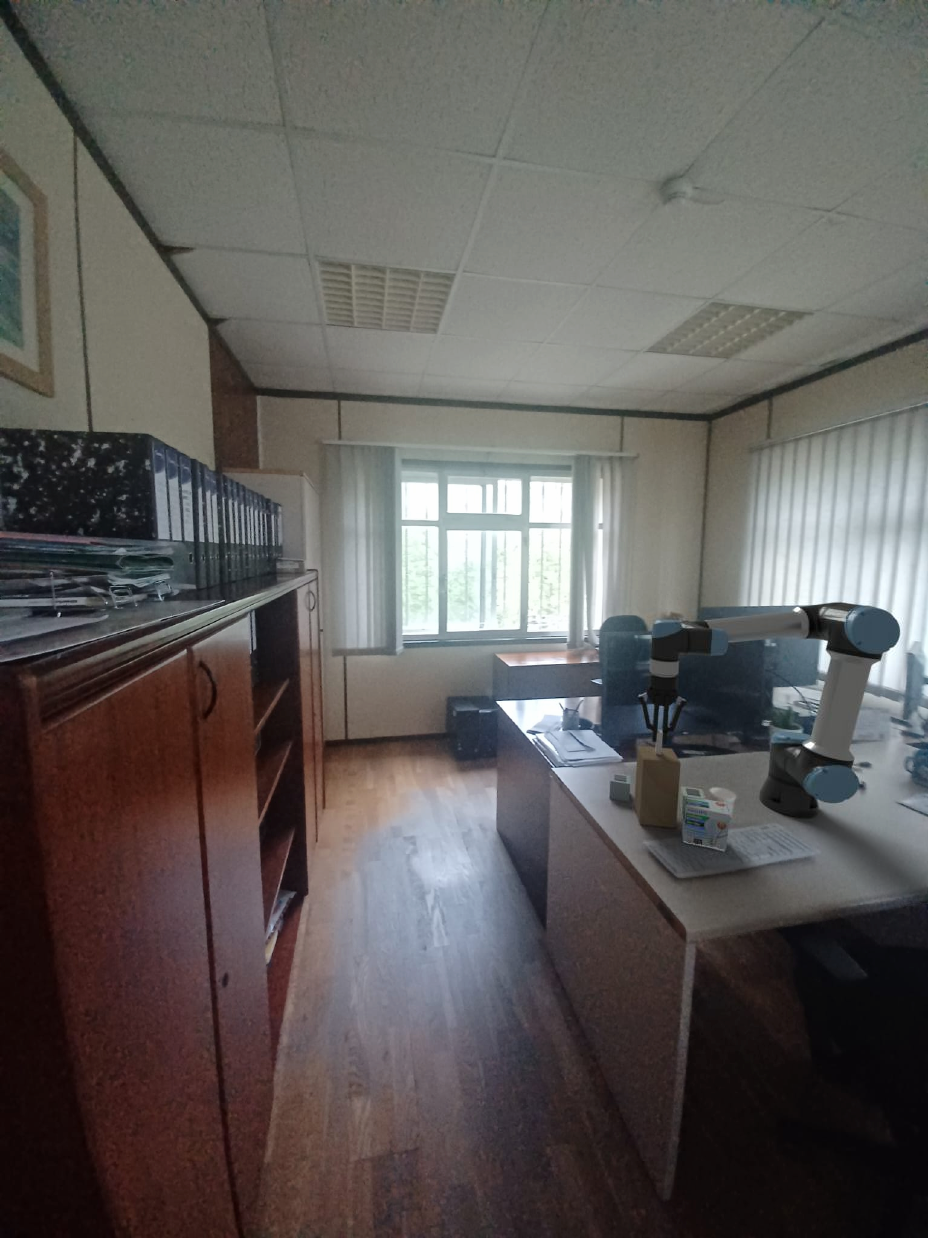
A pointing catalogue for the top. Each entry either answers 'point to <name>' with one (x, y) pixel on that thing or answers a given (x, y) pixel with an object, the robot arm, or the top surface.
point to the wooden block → (657, 787)
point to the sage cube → (689, 792)
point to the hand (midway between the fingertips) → (658, 752)
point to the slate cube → (619, 787)
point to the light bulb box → (705, 822)
